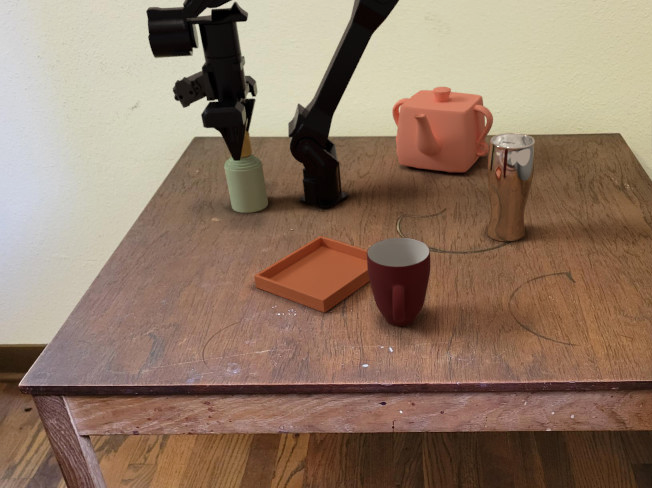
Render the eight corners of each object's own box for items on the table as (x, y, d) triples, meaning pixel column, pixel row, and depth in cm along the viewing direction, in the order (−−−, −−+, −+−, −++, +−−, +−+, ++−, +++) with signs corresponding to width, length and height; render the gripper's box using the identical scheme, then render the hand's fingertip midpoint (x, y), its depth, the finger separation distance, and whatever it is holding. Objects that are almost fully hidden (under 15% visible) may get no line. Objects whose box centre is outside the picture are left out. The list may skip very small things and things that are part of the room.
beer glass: (533, 228, 116) (542, 135, 107) (520, 246, 111) (528, 151, 102) (492, 221, 119) (497, 130, 109) (478, 238, 114) (482, 145, 104)
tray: (321, 247, 113) (320, 235, 112) (388, 268, 107) (387, 256, 106) (256, 287, 104) (253, 275, 103) (324, 313, 98) (323, 300, 97)
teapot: (368, 179, 134) (363, 103, 125) (407, 145, 148) (405, 74, 139) (469, 193, 128) (471, 114, 119) (500, 156, 142) (504, 82, 133)
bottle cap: (227, 152, 121) (223, 132, 119) (248, 148, 123) (245, 128, 121) (234, 159, 119) (230, 139, 117) (255, 154, 120) (252, 135, 118)
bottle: (249, 195, 130) (238, 128, 122) (275, 202, 127) (265, 134, 120) (224, 208, 126) (211, 139, 118) (250, 216, 123) (238, 146, 116)
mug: (437, 343, 91) (437, 274, 85) (375, 348, 91) (370, 279, 85) (425, 300, 100) (425, 235, 93) (368, 305, 99) (364, 239, 93)
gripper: (183, 41, 118) (202, 136, 128) (157, 71, 104) (180, 176, 113) (250, 39, 118) (264, 134, 128) (233, 68, 104) (250, 173, 113)
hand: (239, 153), depth 121 cm, fingers open, 6 cm apart
